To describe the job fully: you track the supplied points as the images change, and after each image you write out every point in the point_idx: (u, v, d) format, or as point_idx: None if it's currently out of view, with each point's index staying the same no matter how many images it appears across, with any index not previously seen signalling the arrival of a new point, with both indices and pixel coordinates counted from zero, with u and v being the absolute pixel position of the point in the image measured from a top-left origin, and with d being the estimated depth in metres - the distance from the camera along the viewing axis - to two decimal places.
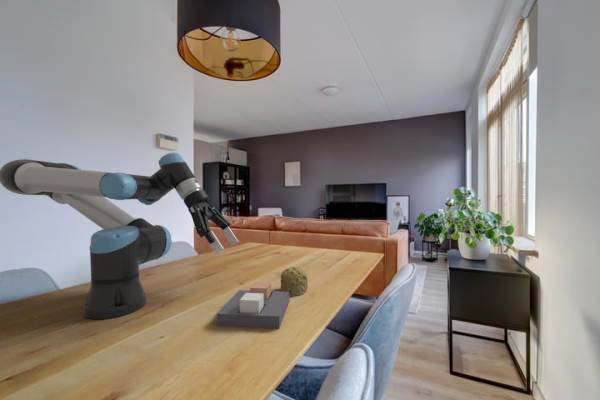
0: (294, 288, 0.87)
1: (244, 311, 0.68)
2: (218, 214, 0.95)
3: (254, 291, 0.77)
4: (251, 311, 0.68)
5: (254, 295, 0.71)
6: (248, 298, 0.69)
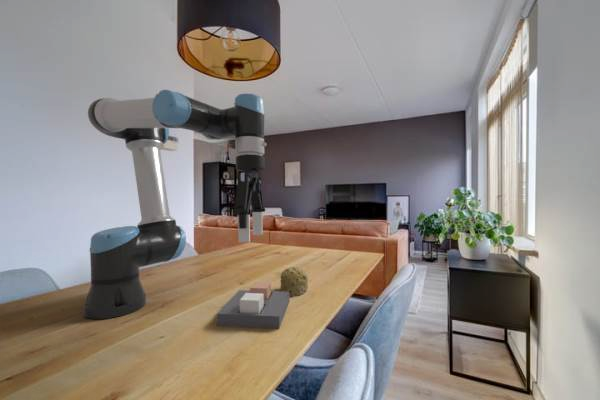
0: (294, 288, 0.87)
1: (244, 311, 0.68)
2: (260, 191, 0.77)
3: (254, 291, 0.77)
4: (251, 311, 0.68)
5: (254, 295, 0.71)
6: (248, 298, 0.69)
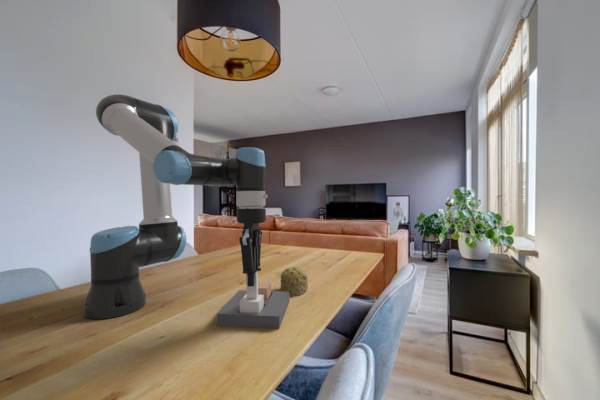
0: (294, 288, 0.87)
1: (244, 312, 0.68)
2: (258, 245, 0.74)
3: None
4: (251, 312, 0.68)
5: None
6: (248, 299, 0.69)
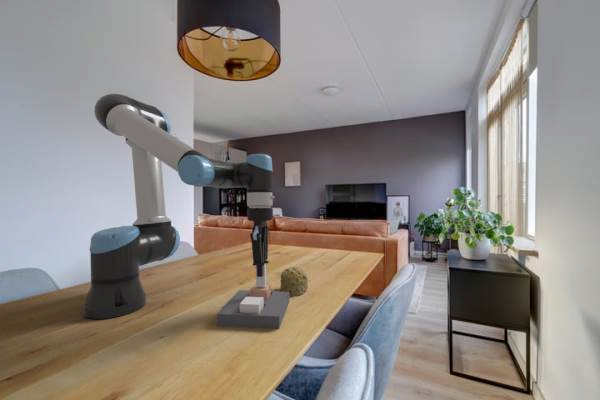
0: (294, 288, 0.87)
1: None
2: (266, 241, 0.83)
3: (254, 293, 0.77)
4: None
5: (254, 298, 0.71)
6: (248, 302, 0.69)
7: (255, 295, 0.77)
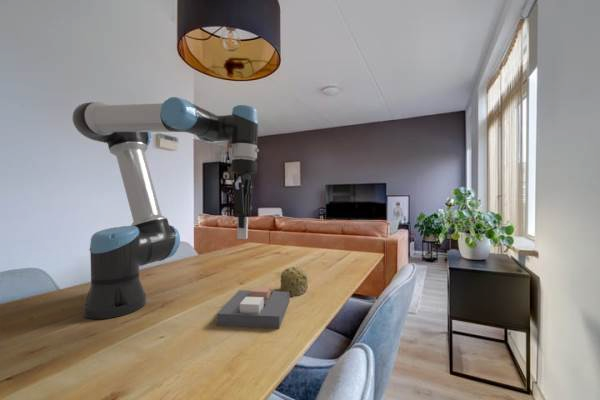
0: (294, 288, 0.87)
1: None
2: (249, 195, 0.83)
3: (254, 294, 0.77)
4: None
5: (254, 298, 0.71)
6: (248, 302, 0.69)
7: (255, 296, 0.77)
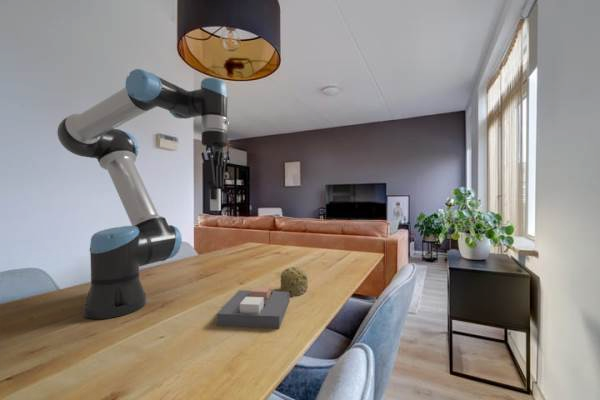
0: (294, 288, 0.87)
1: None
2: (222, 169, 0.84)
3: (254, 294, 0.77)
4: None
5: (254, 298, 0.71)
6: (248, 302, 0.69)
7: (255, 296, 0.77)
